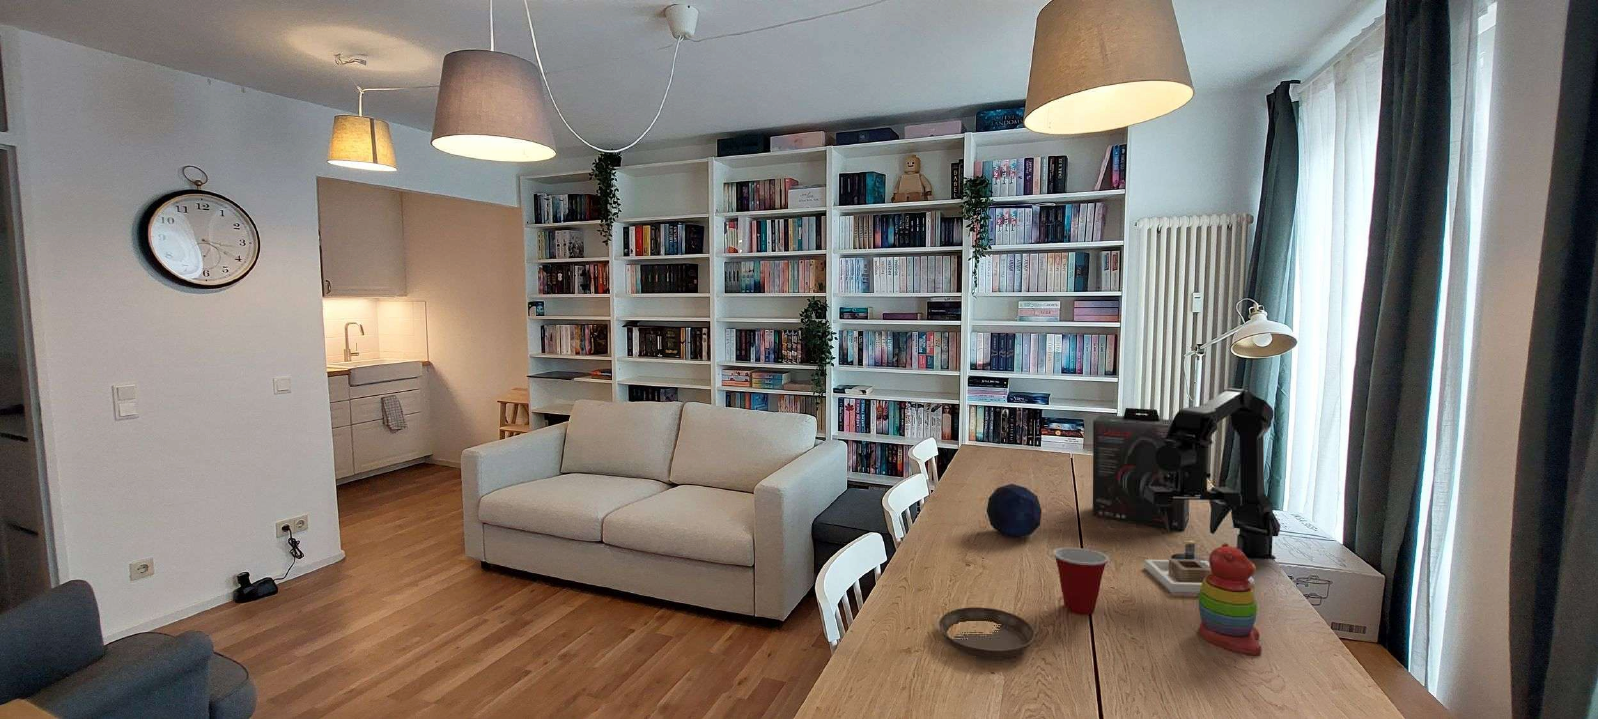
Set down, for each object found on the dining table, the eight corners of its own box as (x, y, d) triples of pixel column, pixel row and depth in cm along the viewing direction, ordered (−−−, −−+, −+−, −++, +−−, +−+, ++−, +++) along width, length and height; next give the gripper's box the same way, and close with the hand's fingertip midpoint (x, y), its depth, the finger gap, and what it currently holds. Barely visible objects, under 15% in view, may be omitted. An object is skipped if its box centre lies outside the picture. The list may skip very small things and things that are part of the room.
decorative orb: (1058, 515, 184) (1025, 469, 188) (1046, 530, 171) (1011, 481, 175) (1016, 538, 191) (985, 493, 195) (1002, 555, 178) (969, 506, 182)
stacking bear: (1262, 658, 119) (1266, 562, 117) (1196, 643, 124) (1199, 552, 123) (1258, 632, 128) (1262, 543, 127) (1197, 620, 133) (1200, 534, 132)
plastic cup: (1104, 600, 143) (1105, 546, 142) (1110, 623, 133) (1111, 565, 132) (1051, 594, 146) (1051, 541, 145) (1052, 616, 136) (1053, 559, 135)
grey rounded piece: (1198, 555, 167) (1199, 536, 167) (1215, 567, 159) (1215, 547, 159) (1165, 554, 168) (1165, 535, 168) (1180, 566, 160) (1180, 547, 160)
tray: (1206, 570, 158) (1206, 560, 157) (1239, 596, 144) (1239, 585, 144) (1144, 569, 159) (1145, 559, 159) (1171, 594, 145) (1171, 583, 145)
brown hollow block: (1211, 585, 148) (1212, 570, 148) (1181, 584, 149) (1181, 569, 148) (1194, 571, 155) (1195, 557, 155) (1166, 571, 156) (1166, 556, 156)
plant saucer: (930, 620, 136) (930, 605, 135) (1017, 619, 136) (1017, 605, 135) (949, 666, 118) (949, 650, 118) (1048, 665, 118) (1049, 649, 118)
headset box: (1089, 516, 199) (1092, 407, 196) (1099, 506, 209) (1101, 402, 206) (1184, 532, 184) (1187, 414, 181) (1189, 520, 194) (1192, 408, 191)
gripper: (1217, 457, 156) (1215, 522, 157) (1135, 456, 158) (1133, 520, 159) (1244, 469, 145) (1241, 538, 146) (1155, 468, 147) (1153, 536, 148)
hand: (1190, 532), depth 150 cm, fingers open, 9 cm apart
